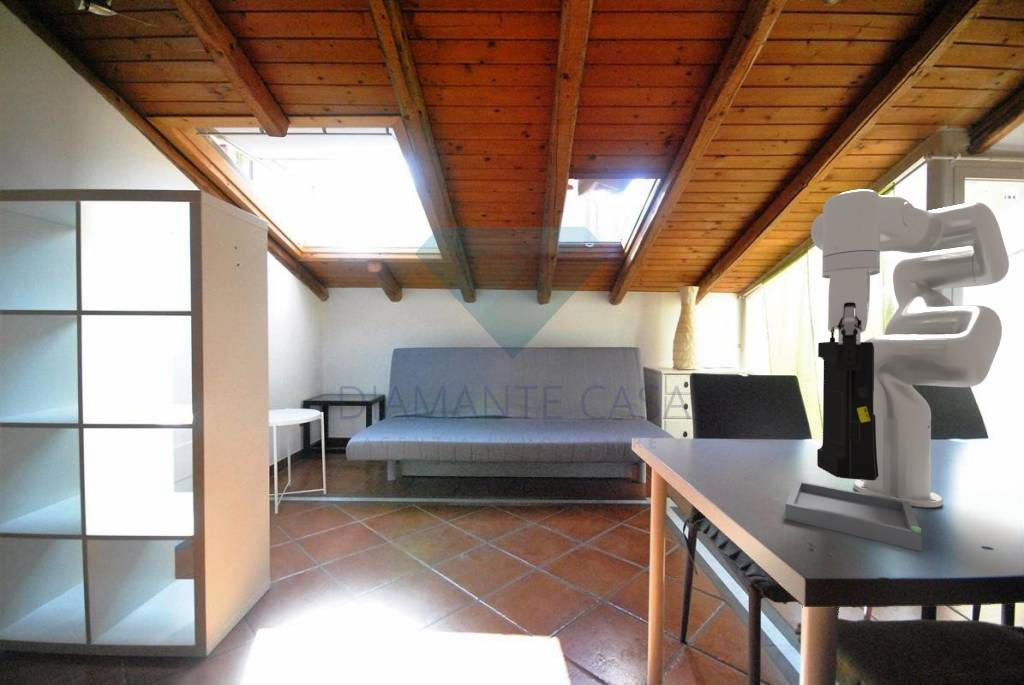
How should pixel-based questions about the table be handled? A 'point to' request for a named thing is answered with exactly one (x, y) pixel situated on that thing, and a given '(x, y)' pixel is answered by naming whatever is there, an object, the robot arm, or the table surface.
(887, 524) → the tray
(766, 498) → the table surface
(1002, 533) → the table surface
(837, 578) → the table surface
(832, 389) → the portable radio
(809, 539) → the table surface
